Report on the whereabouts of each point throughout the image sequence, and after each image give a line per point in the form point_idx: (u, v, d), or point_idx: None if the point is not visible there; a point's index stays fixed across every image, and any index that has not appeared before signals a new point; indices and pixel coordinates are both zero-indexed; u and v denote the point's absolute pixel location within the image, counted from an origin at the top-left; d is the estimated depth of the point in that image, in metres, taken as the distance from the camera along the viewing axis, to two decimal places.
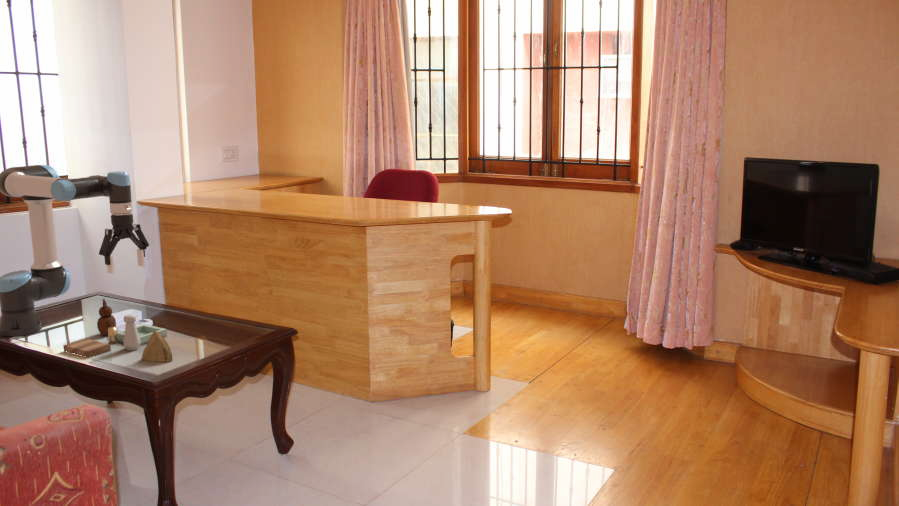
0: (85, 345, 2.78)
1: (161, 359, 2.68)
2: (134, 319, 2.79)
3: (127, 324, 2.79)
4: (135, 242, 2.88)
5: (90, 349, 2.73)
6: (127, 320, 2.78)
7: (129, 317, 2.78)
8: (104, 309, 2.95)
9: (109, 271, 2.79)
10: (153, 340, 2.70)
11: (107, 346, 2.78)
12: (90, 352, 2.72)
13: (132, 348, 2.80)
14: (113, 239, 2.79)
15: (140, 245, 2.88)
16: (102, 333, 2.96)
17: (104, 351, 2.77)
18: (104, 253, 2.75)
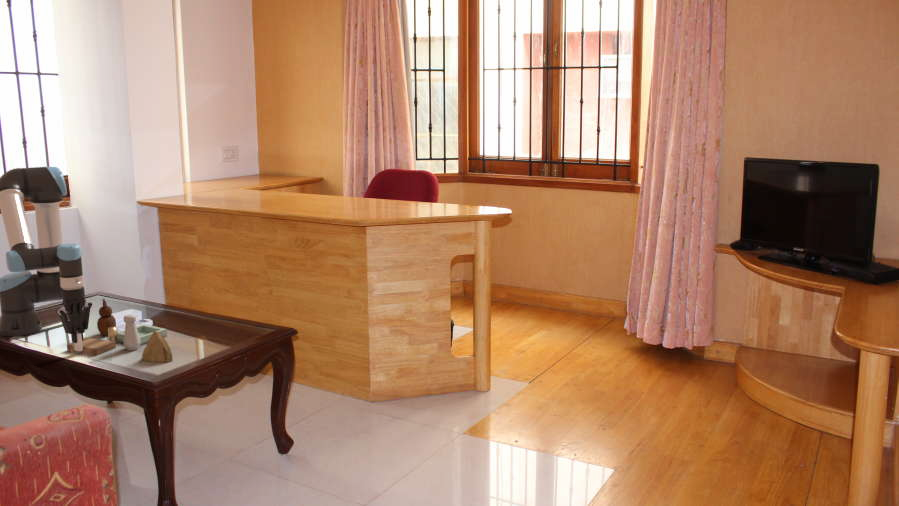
0: (90, 343, 2.80)
1: (161, 359, 2.68)
2: (134, 319, 2.79)
3: (127, 324, 2.79)
4: (77, 321, 2.74)
5: (97, 347, 2.76)
6: (127, 320, 2.78)
7: (129, 317, 2.78)
8: (104, 309, 2.95)
9: (76, 349, 2.75)
10: (153, 340, 2.70)
11: (113, 343, 2.81)
12: (98, 349, 2.75)
13: (132, 348, 2.80)
14: (70, 316, 2.72)
15: (80, 326, 2.74)
16: (102, 333, 2.96)
17: (110, 348, 2.80)
18: (70, 332, 2.71)
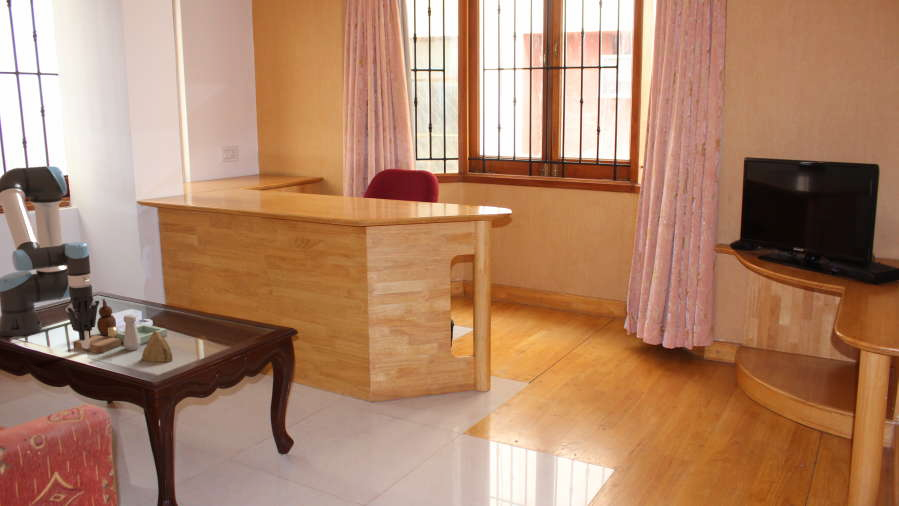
0: (96, 341, 2.82)
1: (161, 359, 2.68)
2: (134, 319, 2.79)
3: (127, 324, 2.79)
4: (85, 319, 2.77)
5: (103, 344, 2.78)
6: (127, 320, 2.78)
7: (129, 317, 2.78)
8: (104, 309, 2.95)
9: (83, 346, 2.78)
10: (153, 340, 2.70)
11: (118, 341, 2.84)
12: (103, 347, 2.77)
13: (132, 348, 2.80)
14: (77, 314, 2.74)
15: (87, 324, 2.77)
16: (102, 333, 2.96)
17: (115, 346, 2.83)
18: (78, 329, 2.73)
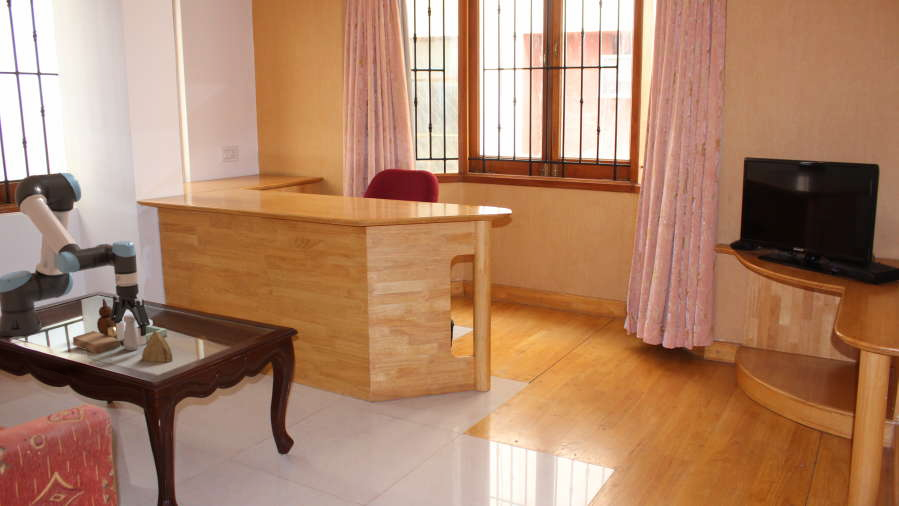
0: (95, 339, 2.82)
1: (161, 359, 2.68)
2: (134, 319, 2.79)
3: (127, 324, 2.79)
4: None
5: (101, 344, 2.78)
6: (127, 320, 2.78)
7: (129, 317, 2.78)
8: (104, 309, 2.95)
9: None
10: (153, 340, 2.70)
11: (117, 341, 2.83)
12: (101, 347, 2.76)
13: (132, 348, 2.80)
14: None
15: (137, 322, 2.76)
16: (102, 333, 2.96)
17: (114, 346, 2.82)
18: (111, 318, 2.82)
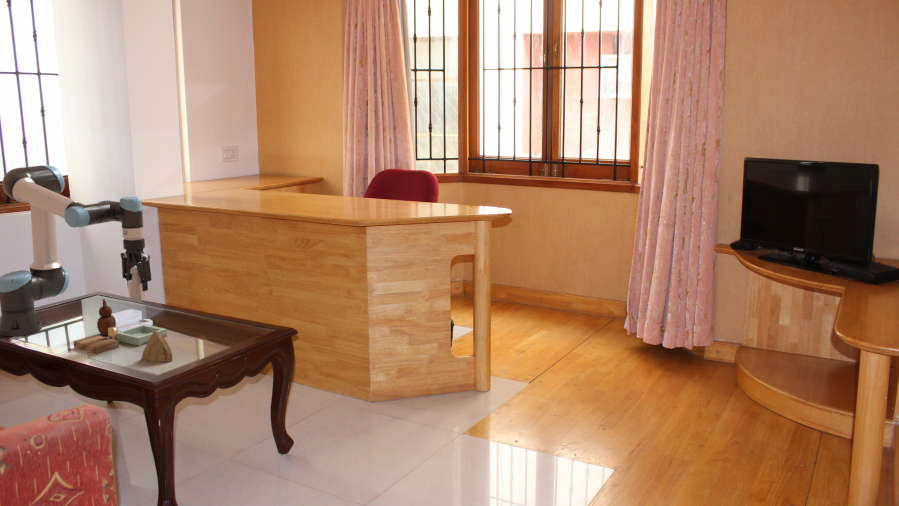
0: (94, 341, 2.82)
1: (161, 359, 2.68)
2: None
3: (134, 276, 2.87)
4: None
5: (99, 345, 2.78)
6: (134, 272, 2.86)
7: (135, 269, 2.87)
8: (104, 309, 2.95)
9: None
10: (153, 340, 2.70)
11: (115, 343, 2.82)
12: (98, 348, 2.76)
13: (138, 299, 2.89)
14: None
15: (139, 276, 2.86)
16: (102, 333, 2.96)
17: (112, 347, 2.81)
18: (123, 276, 2.91)
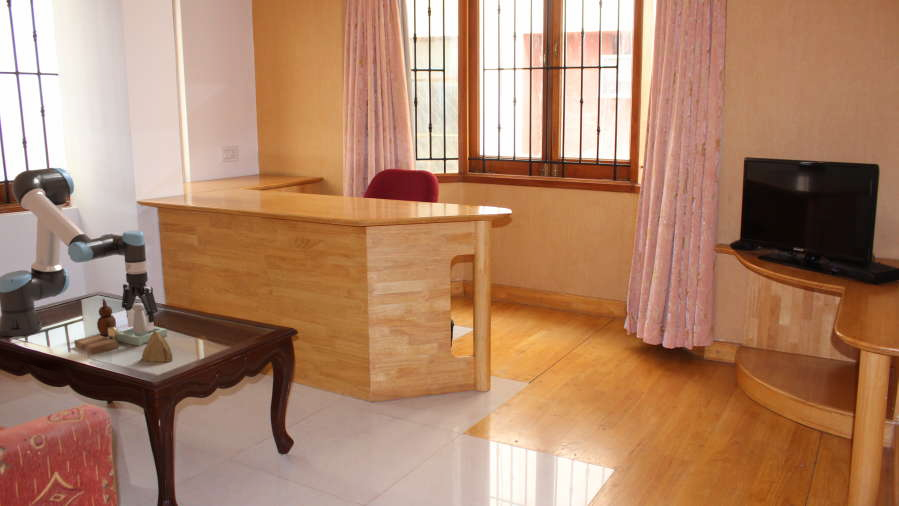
0: (94, 341, 2.82)
1: (161, 359, 2.68)
2: (142, 307, 2.91)
3: (136, 312, 2.91)
4: None
5: (96, 346, 2.77)
6: (135, 308, 2.90)
7: (137, 305, 2.90)
8: (104, 309, 2.95)
9: None
10: (153, 340, 2.70)
11: (114, 343, 2.81)
12: (96, 349, 2.76)
13: (141, 335, 2.92)
14: None
15: (145, 309, 2.88)
16: (102, 333, 2.96)
17: (111, 348, 2.80)
18: (122, 306, 2.94)
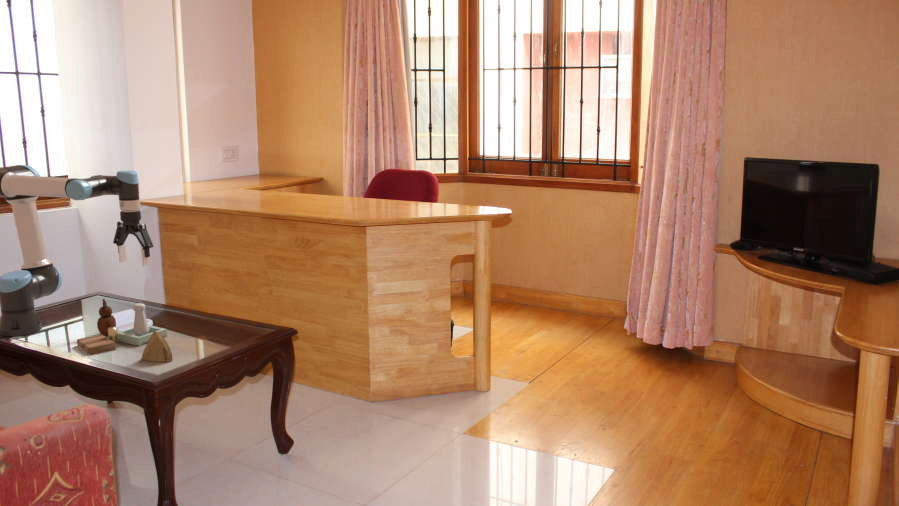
0: (94, 341, 2.82)
1: (161, 359, 2.68)
2: (143, 308, 2.91)
3: (136, 312, 2.90)
4: None
5: (93, 346, 2.77)
6: (136, 309, 2.89)
7: (138, 306, 2.90)
8: (104, 309, 2.95)
9: None
10: (153, 340, 2.70)
11: (112, 344, 2.80)
12: (92, 349, 2.75)
13: None
14: None
15: (141, 244, 2.96)
16: (102, 333, 2.96)
17: (108, 349, 2.79)
18: (114, 241, 3.04)
